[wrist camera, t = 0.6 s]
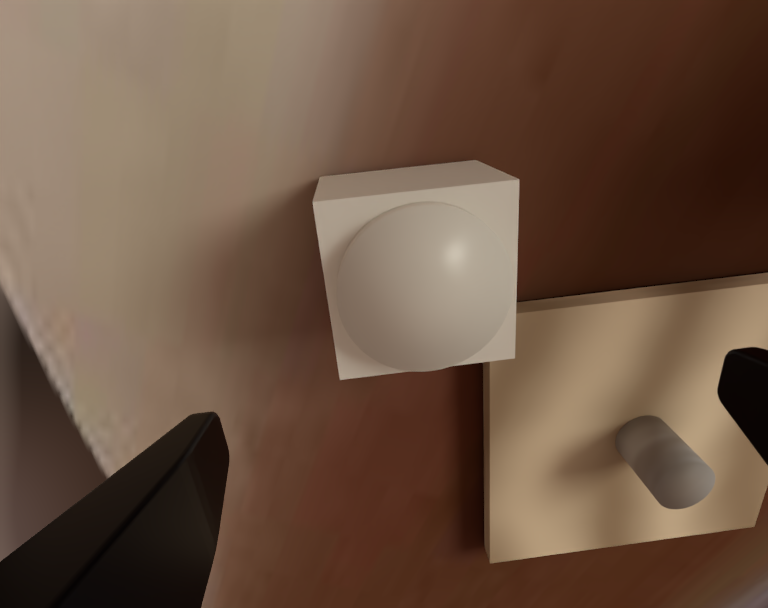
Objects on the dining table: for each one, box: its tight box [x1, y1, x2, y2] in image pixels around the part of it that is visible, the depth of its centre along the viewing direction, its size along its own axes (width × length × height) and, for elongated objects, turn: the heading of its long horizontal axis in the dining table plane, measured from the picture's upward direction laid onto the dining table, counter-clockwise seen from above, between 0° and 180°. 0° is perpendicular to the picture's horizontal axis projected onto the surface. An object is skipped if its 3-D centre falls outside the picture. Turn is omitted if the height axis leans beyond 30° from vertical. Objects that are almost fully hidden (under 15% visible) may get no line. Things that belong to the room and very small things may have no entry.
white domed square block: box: [312, 160, 519, 380], centre depth 15 cm, size 6×6×5 cm
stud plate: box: [483, 273, 768, 563], centre depth 20 cm, size 14×14×4 cm
